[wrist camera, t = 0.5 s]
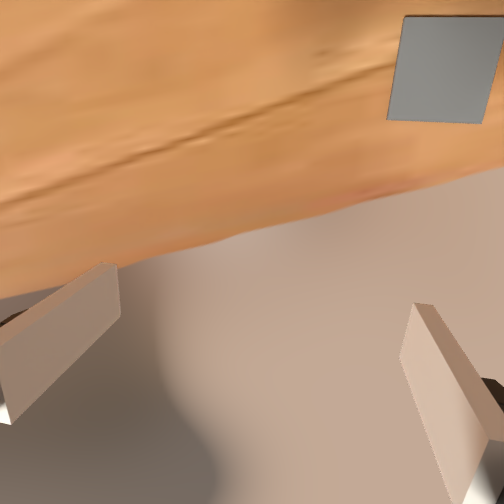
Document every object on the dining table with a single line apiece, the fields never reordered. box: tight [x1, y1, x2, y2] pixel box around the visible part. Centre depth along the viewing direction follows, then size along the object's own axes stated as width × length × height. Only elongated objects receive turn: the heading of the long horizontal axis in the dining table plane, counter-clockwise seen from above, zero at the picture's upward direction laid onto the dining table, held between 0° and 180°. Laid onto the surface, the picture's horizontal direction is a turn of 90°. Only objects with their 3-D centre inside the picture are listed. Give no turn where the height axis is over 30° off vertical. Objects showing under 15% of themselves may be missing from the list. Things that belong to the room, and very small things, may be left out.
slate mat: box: [387, 17, 504, 124], centre depth 33 cm, size 9×9×1 cm
